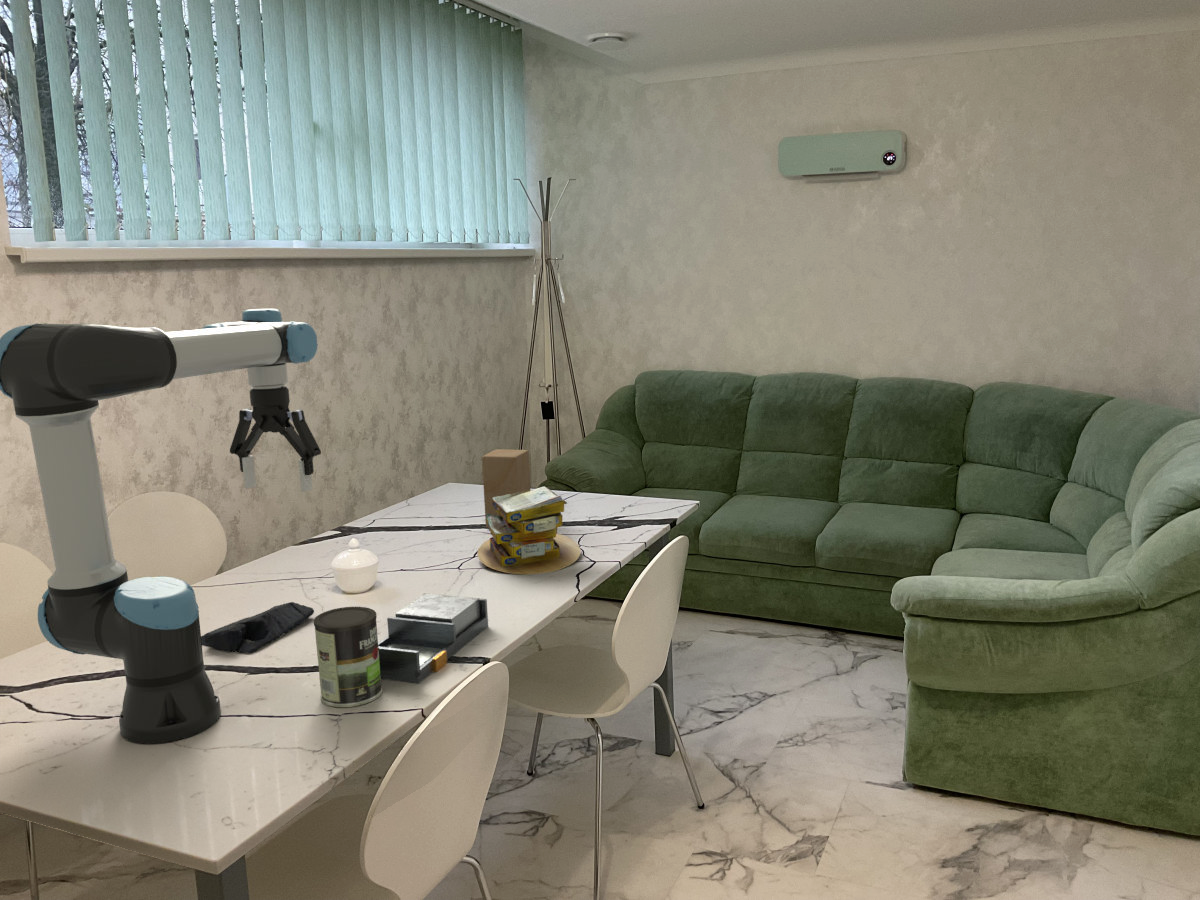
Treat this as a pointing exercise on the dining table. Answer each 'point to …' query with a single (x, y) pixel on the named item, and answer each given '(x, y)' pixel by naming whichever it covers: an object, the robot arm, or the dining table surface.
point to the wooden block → (504, 475)
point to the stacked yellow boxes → (527, 534)
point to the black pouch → (257, 629)
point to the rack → (429, 635)
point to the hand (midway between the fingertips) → (278, 489)
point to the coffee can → (348, 656)
